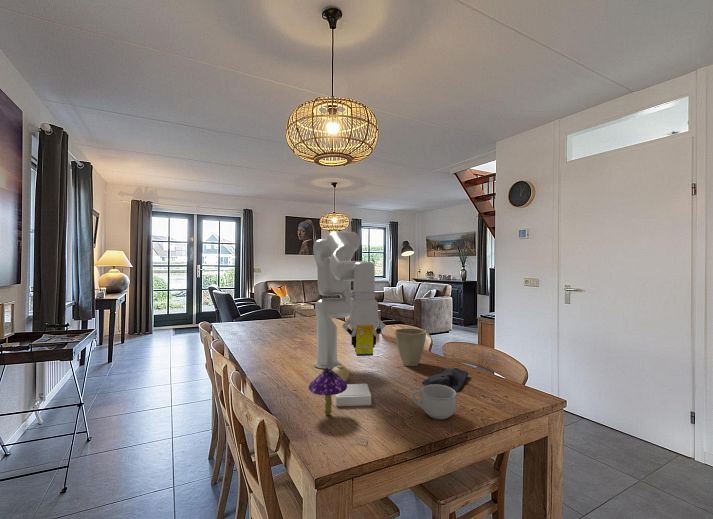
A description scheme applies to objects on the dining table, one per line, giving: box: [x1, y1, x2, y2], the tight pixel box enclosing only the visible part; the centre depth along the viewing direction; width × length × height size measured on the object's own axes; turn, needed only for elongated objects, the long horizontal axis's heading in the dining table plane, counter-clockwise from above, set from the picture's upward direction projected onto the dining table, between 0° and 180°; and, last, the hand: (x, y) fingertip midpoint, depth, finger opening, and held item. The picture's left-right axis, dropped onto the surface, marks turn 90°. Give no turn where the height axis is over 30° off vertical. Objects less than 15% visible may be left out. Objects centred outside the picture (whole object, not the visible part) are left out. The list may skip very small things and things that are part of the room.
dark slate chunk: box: [421, 367, 469, 393], centre depth 139 cm, size 15×22×5 cm
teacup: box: [410, 384, 457, 420], centre depth 109 cm, size 14×11×8 cm
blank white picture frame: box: [334, 383, 372, 407], centre depth 121 cm, size 12×12×3 cm
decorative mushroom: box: [308, 367, 347, 416], centre depth 109 cm, size 12×12×15 cm
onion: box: [331, 364, 350, 383], centre depth 139 cm, size 8×8×7 cm
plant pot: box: [394, 327, 427, 367], centre depth 163 cm, size 15×15×16 cm
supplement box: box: [354, 325, 374, 357], centre depth 121 cm, size 6×6×11 cm
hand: (363, 346), depth 121 cm, fingers closed on supplement box, 6 cm apart
